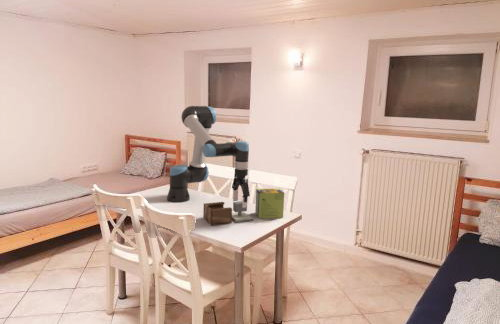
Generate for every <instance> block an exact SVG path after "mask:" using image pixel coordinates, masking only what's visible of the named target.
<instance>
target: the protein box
mask: <svg viewBox="0 0 500 324" xmlns="http://www.w3.org/2000/svg"><path fill="white" fill-rule="evenodd" d="M255 194H256V195H255V211H254V212H255V215H256V216H257V218H258V219H283V218H284V205H285V192H284V191H283V190H282V189H281V188H256V189H255Z"/></svg>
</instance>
